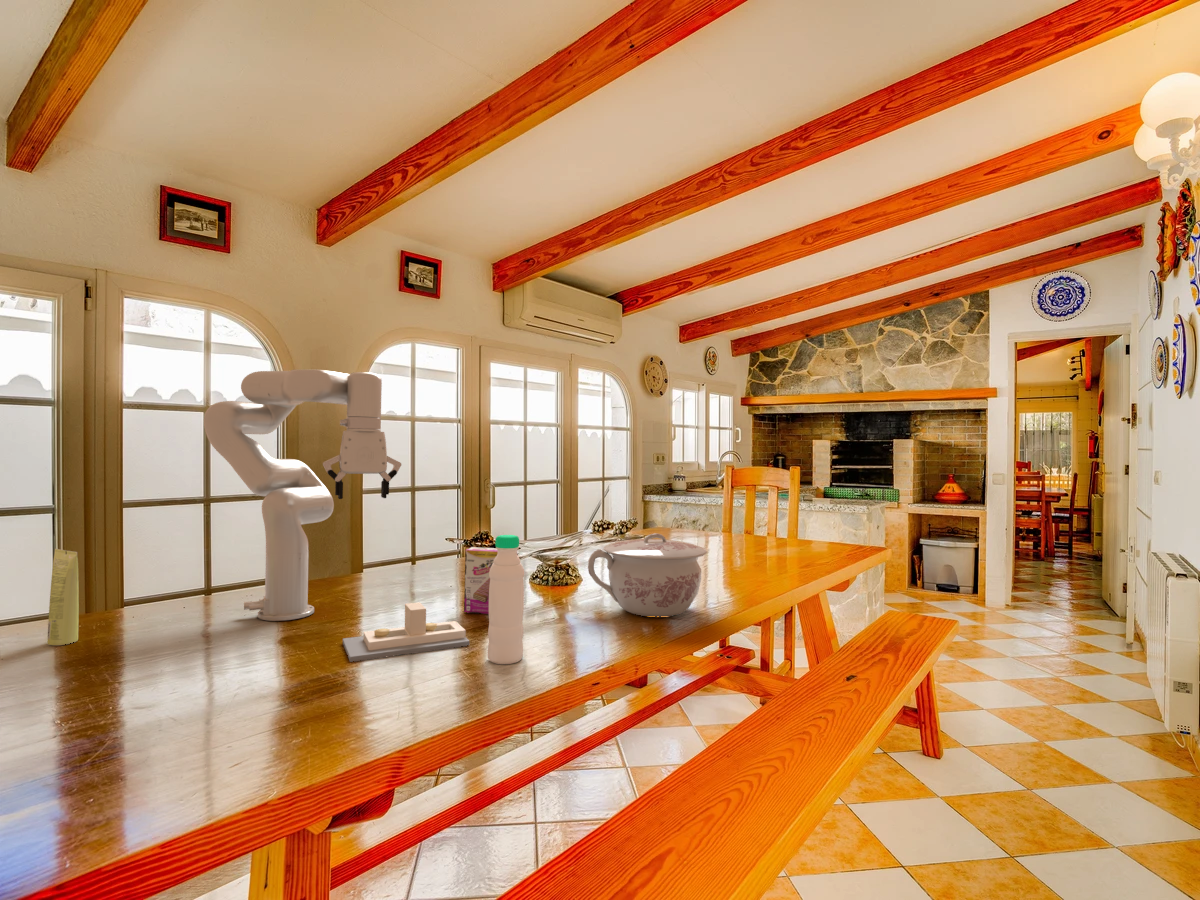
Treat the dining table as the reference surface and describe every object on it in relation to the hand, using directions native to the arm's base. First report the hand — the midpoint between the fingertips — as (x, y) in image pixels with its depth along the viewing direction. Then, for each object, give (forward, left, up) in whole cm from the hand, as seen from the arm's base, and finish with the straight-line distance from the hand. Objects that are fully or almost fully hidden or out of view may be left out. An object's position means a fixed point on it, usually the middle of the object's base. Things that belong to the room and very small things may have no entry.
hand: (362, 498), depth 146 cm
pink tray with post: (+9, -18, -29) cm, 35 cm away
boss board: (+7, -18, -30) cm, 36 cm away
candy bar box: (+31, 0, -31) cm, 43 cm away
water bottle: (+23, -36, -30) cm, 52 cm away
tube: (-57, +13, -30) cm, 66 cm away
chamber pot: (+71, -17, -31) cm, 79 cm away
